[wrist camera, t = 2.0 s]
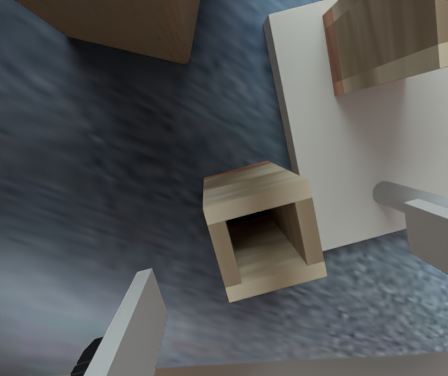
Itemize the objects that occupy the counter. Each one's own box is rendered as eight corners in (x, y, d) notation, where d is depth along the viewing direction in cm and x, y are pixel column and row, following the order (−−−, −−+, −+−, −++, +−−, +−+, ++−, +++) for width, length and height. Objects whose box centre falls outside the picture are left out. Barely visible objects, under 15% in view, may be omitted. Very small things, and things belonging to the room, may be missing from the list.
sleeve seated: (334, 96, 22) (439, 68, 12) (322, 15, 20) (428, -90, 11) (405, 77, 22) (568, 34, 12) (397, -4, 21) (572, -126, 11)
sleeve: (220, 237, 26) (229, 302, 16) (203, 177, 24) (202, 208, 15) (280, 221, 26) (327, 276, 16) (267, 160, 25) (308, 180, 15)
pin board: (306, 244, 26) (376, 321, 16) (262, 24, 22) (317, -76, 11) (443, 207, 27) (603, 259, 16) (426, -17, 22) (630, -155, 12)
